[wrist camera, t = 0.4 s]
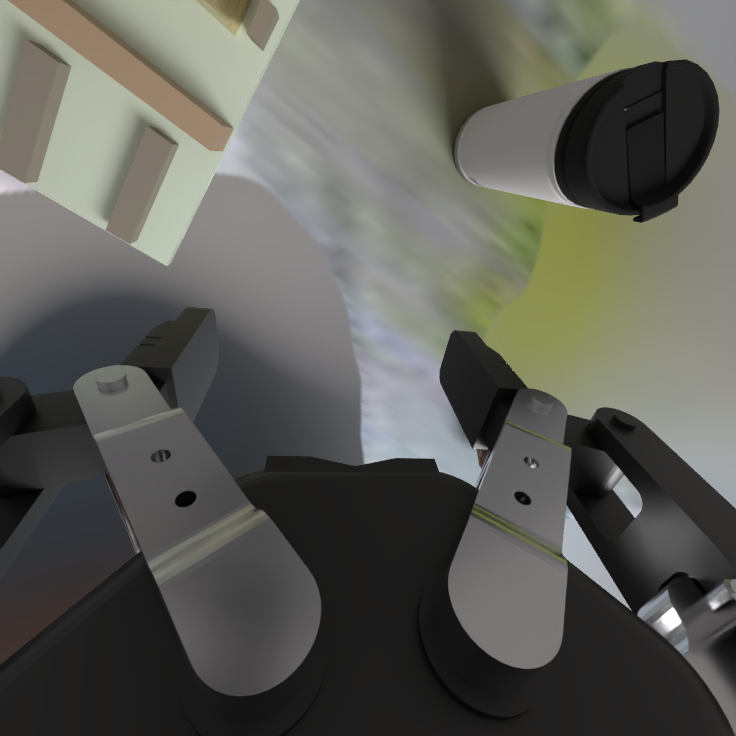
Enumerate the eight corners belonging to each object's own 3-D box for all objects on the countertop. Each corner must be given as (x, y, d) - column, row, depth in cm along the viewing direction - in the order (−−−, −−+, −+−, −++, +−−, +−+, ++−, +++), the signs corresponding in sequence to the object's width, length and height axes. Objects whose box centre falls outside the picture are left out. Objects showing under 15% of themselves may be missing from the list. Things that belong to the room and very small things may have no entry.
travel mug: (464, 200, 35) (598, 246, 18) (444, 127, 31) (587, 98, 14) (524, 170, 34) (725, 188, 17) (511, 92, 31) (745, 17, 14)
